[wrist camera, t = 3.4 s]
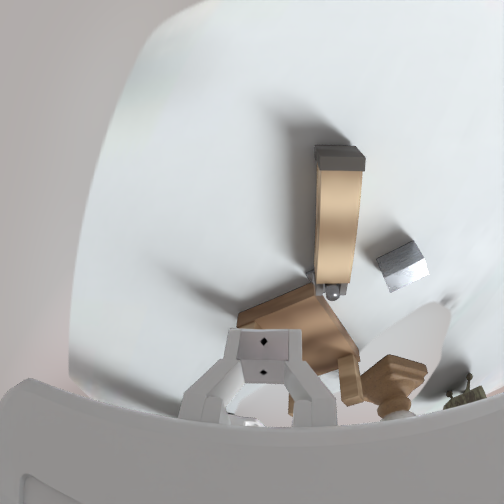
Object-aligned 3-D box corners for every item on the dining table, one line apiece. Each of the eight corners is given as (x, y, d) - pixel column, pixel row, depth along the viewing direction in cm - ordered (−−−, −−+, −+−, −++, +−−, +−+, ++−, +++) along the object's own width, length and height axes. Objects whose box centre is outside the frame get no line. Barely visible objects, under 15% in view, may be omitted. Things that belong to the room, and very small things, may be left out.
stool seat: (358, 348, 42) (366, 401, 34) (295, 370, 46) (295, 420, 38) (313, 281, 35) (318, 344, 27) (238, 313, 39) (228, 372, 31)
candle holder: (426, 364, 44) (452, 482, 24) (387, 393, 50) (401, 501, 30) (388, 353, 42) (410, 492, 22) (347, 385, 48) (354, 507, 29)
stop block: (418, 255, 31) (429, 274, 28) (383, 273, 33) (390, 292, 30) (413, 240, 30) (424, 258, 27) (376, 258, 32) (383, 278, 29)
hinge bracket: (343, 281, 34) (349, 310, 30) (319, 292, 36) (322, 321, 32) (330, 260, 33) (336, 288, 29) (305, 272, 34) (307, 301, 30)
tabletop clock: (469, 392, 51) (489, 477, 31) (437, 405, 54) (453, 492, 34) (475, 366, 45) (504, 468, 24) (439, 382, 48) (461, 487, 27)
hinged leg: (343, 275, 33) (348, 298, 30) (311, 276, 34) (313, 299, 31) (355, 145, 25) (365, 157, 22) (314, 145, 25) (319, 156, 22)
